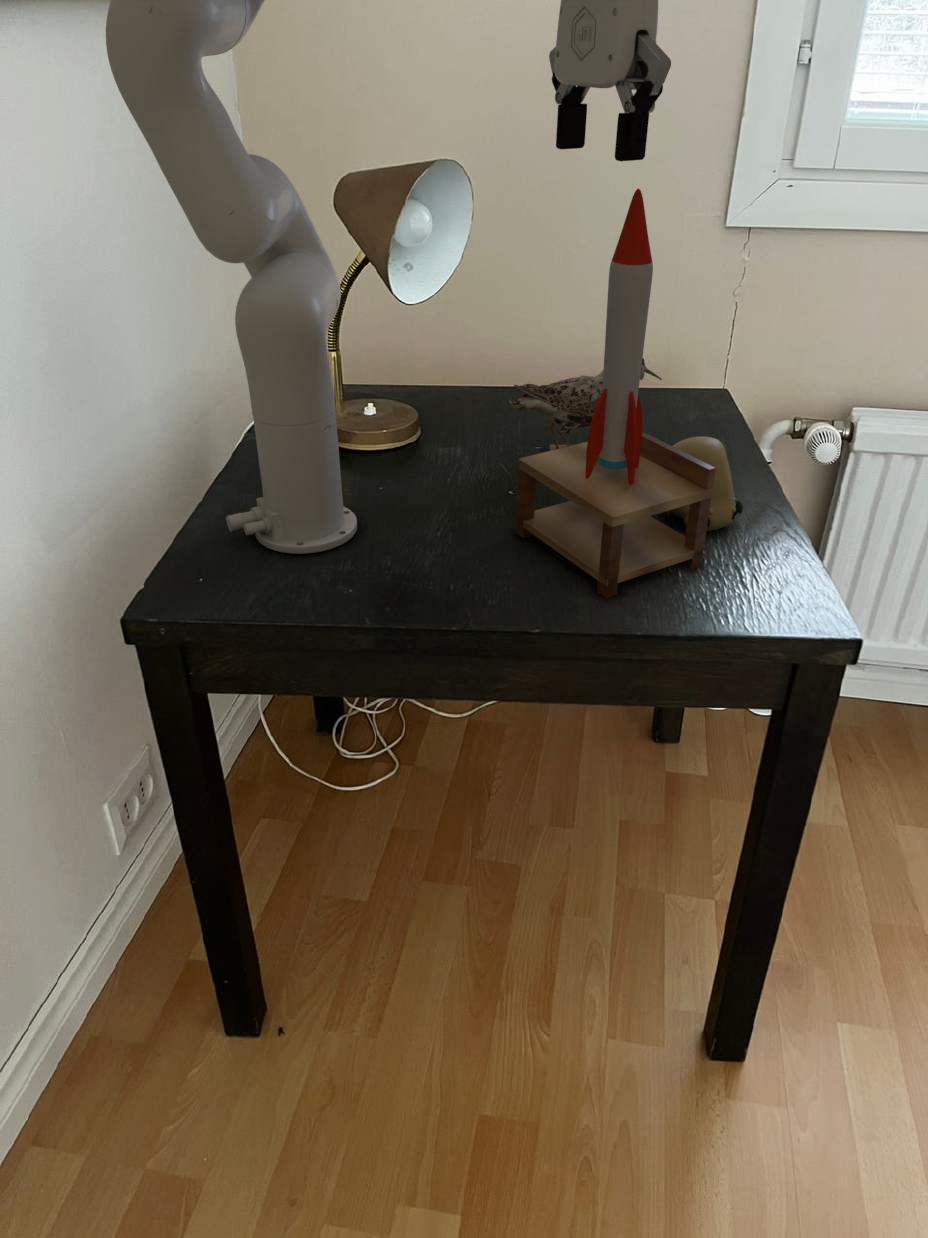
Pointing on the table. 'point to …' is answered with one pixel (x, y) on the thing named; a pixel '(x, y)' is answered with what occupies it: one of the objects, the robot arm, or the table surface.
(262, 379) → the robot arm
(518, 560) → the table surface
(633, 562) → the rack
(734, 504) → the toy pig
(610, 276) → the toy rocket
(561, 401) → the stuffed bird
